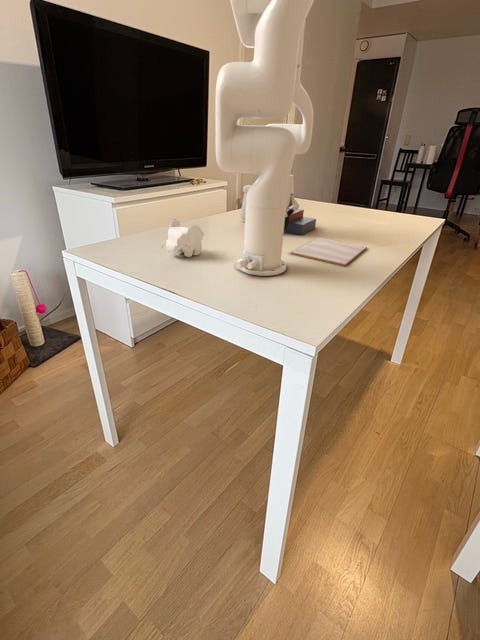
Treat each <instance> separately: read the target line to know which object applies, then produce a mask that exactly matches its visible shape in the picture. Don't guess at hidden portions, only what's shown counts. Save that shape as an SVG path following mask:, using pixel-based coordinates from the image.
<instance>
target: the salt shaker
mask: <svg viewBox="0 0 480 640" xmlns="http://www.w3.org/2000/svg"><path fill="white" fill-rule="evenodd" d="M251 186H252V185H251V184H250V185H249V184H248V185H244V186H243V187H242V192H243V193H244V194H243V198H242V203H241V208H240V214H239V216H240V220H241V222H242V223H244V224H245V211H246V195H247V192H248V190H249V188H250V187H251Z"/></svg>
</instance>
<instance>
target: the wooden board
mask: <svg viewBox="0 0 480 640" xmlns="http://www.w3.org/2000/svg"><path fill="white" fill-rule="evenodd" d="M366 250H367V246H364V245H360V244H354V243H349V242H342V241H337V240H332V239H328V238H322V237H317V238H315V239H313V240H311V241H309V242H308V243H306V244H304V245H302V246H299V247H298V248H296V249H294V250H292V251H291V252H290V255H294V256H297V257H298V256H299V257H302V258H306V259H311V260H316V261H321V262H325V263H330V264H334V265H338V266H342V267H347V265H349V264H350V263H352V261H353V260H355V259H356V258H357V257H359V255H361V254H362V253H363V252H364V251H366Z"/></svg>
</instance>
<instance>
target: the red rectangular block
mask: <svg viewBox="0 0 480 640" xmlns="http://www.w3.org/2000/svg"><path fill="white" fill-rule="evenodd" d="M289 208H290V209H291V208H292V207H289ZM304 213H305V209H301V208H298V209H297V210H295V212H294V213H292V214H291V215H290V216H289V222H291V221H293V220H296V219H298V218H301V217H304Z"/></svg>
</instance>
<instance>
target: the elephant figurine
mask: <svg viewBox="0 0 480 640" xmlns="http://www.w3.org/2000/svg"><path fill="white" fill-rule="evenodd" d="M204 236H205V233H204V231H203V230H202V228H201V226H199V225H198V224H194V225H192V226H191V227H186V226H182V223H181V222H180V220H179V219H177V218H174V219H172V220H171V221H170V224H169V228H168V231H167V239H166V240H164V241H163V243H162V245H161V246H160V249H163V247H164V246H165V248H166V250H167V252H168V253H171V254H173V255H174V256H179V255H181V254H183V255H184V257H186V258H191V257H192V256H199V255H200V253H201V250H202V248H203V247H202V245H203V244H202V243H203V242H202V240H203V238H204Z"/></svg>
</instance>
